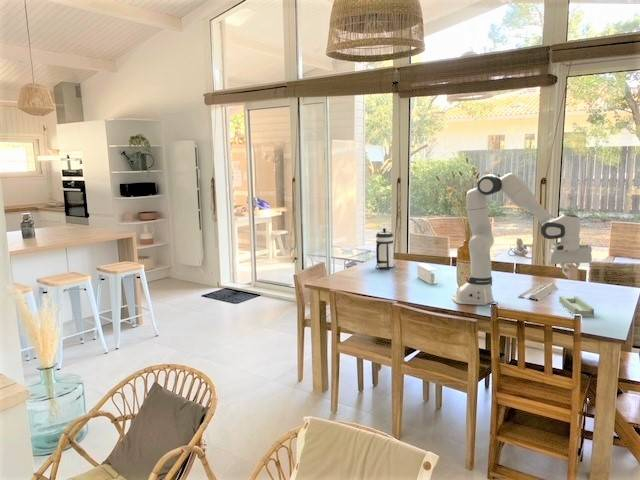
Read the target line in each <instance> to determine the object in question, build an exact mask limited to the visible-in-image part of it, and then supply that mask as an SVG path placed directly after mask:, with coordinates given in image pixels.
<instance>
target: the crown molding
mask: <svg viewBox="0 0 640 480" xmlns="http://www.w3.org/2000/svg"><path fill="white" fill-rule="evenodd" d="M543 286H544V285H543V284H542V283H541V282H539V284H536V285H535V286H533V287H532V288H530V289H527V290H526V291H524V292H523V293H521V294H519V295H518V296H517V297H518V298H521V297H524V296H525V295H527V294H529V293H531V292H533V291H535V290H536V289H539V288H540V287H543ZM556 289H557V290H559V287H558V286H557V285H555V283H554V282H550V283H548V284H547V285H546V287H544V288H542V289H541V290H539V291H537V292H536V293H534V294H532V295H531V296H530V297H528V298H531V299H532V300H536V299H539V298H541V297H542V296H544V295H546V294H548V293H550V292H552V291H554V290H555V291H557V290H556ZM555 291H554V292H555ZM552 293H553V292H552Z"/></svg>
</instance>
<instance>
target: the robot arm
mask: <svg viewBox="0 0 640 480" xmlns="http://www.w3.org/2000/svg"><path fill="white" fill-rule="evenodd" d="M476 186H477V187H474V188H472V189H470V190H468V191H467V193H466V197H465V198H466V199H465V206H466V214H467V221H468V222H467V223H468V225H469V228H470V231H471V234H472V235H471V237H470V239H469V241H468V245H467V246H468V251H469V260H470V275H467V274H466V275H465V277H464V278H465V279H466V282H465V283H464V284H462V285H460V286H459V287H458V288H457V291H456V294H455V295H453V296H452V301H453V302H454V303H455V304H459V305H460V304H462V305H474V306H475V305H479V306H485V305H488V304H491V303H493V302H494V300H495V299H494V296H493V289H492V285H493V276H492V260H491V248H492V247H493V246H494V242H495V241H494V239H495V238H494V234H493V230H492V226H491V223H490V218H489V207H488V197H489V196H491V195H493V194H494V195H495V194H496V193H499V192H501V193H503V194H504V195H505V196H506V197H507V198H508V199H509V201H511V202H512V203H513V204H514V205H515V206H516V207H518V208H521V209H524V210H525V211H526V210H527V211H528V212H530V213H531V214H532V216H534V218H536V219H537V221H539V223H540V224H541V228H540V234H541V236H542V237H543V238H545V239H547V240H556V239H560V240H559V241H558V242H555V243H552V244H551V245H550V248H551V249H550V250H549V252H548V262H549V263H550V264H551V265H558V264H559V265H560V267H561V268H563V272H567V271H566V270H567V269H566V268H564V265H565V264H567V263H572V264H574V265H575V266H576V267H577V268H578V269H579V267H580V266H581V265H580V264H587V263H592V260H593V258H592V251H593V249H592V248H593V247H592V246H591V245H589V244H581V238H580V232H581V223H580V218H579V217H578V216H577V215H575V214H571V213H563V214H561V215H560V216H558V217H555V216H552V215H551V214H550V213H549V212H548V211H547V210H546V209H545V207H544V206H543V205H542V204H541V203H540V202H539V201H538V199H537V198H536V196H535V194H534V193H533V191H532V189H531V188H530V187H529V186H528V184H526V182H524V181H523V180H522V179H521V178H520V177H519V176H517V175H516V173H513V172H509V173H506V174H504V175H503V176H501V177H500V176H499V175H498V174H496V173H486V174H484V175H482V177H480V178H479V179H478V180H477V184H476Z"/></svg>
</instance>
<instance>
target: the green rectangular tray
mask: <svg viewBox="0 0 640 480" xmlns="http://www.w3.org/2000/svg"><path fill="white" fill-rule="evenodd" d="M558 299H559V300H558V303H561V304H562V305H563V306H564V307H565V308H567V309H568V310H569V311H571V312H572V313H573V314H581V315H582V317H583V316H587V317H588V318H589V317H594V314H595V309H594V307H592V306H591V305H589V304H588V303H587V302H586V301H584V300H582V299H581V298H580V297H578V295H575V296H573V297H565V296H561V295H559V297H558ZM561 304H560V305H561ZM562 305H561V306H562ZM563 306H562V307H563ZM564 307H563V308H564ZM565 308H564V309H565ZM568 310H567V311H568ZM569 311H568V312H569Z"/></svg>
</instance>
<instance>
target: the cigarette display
mask: <svg viewBox="0 0 640 480" xmlns="http://www.w3.org/2000/svg"><path fill="white" fill-rule="evenodd" d="M437 270H438V269H437V268H435V267H433V266H431V265H429V264H428V263H427V264H426V263H418V264H417V278H418V279H420V280H423V281H424V282H425V283H428V284H429V285H433V284H438V282H437V281H435V273H433V272H432V271H437Z"/></svg>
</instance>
